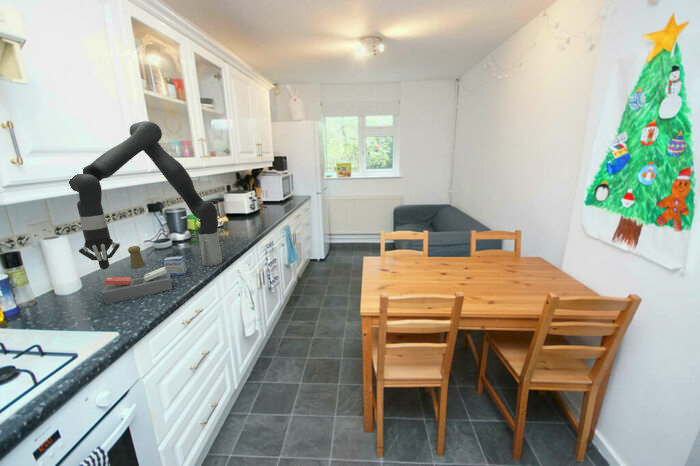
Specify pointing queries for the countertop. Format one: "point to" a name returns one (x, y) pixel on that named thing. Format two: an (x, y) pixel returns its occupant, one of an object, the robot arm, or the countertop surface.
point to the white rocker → (155, 273)
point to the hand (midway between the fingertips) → (105, 268)
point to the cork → (135, 257)
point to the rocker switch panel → (136, 288)
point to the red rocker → (117, 280)
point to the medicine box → (175, 265)
